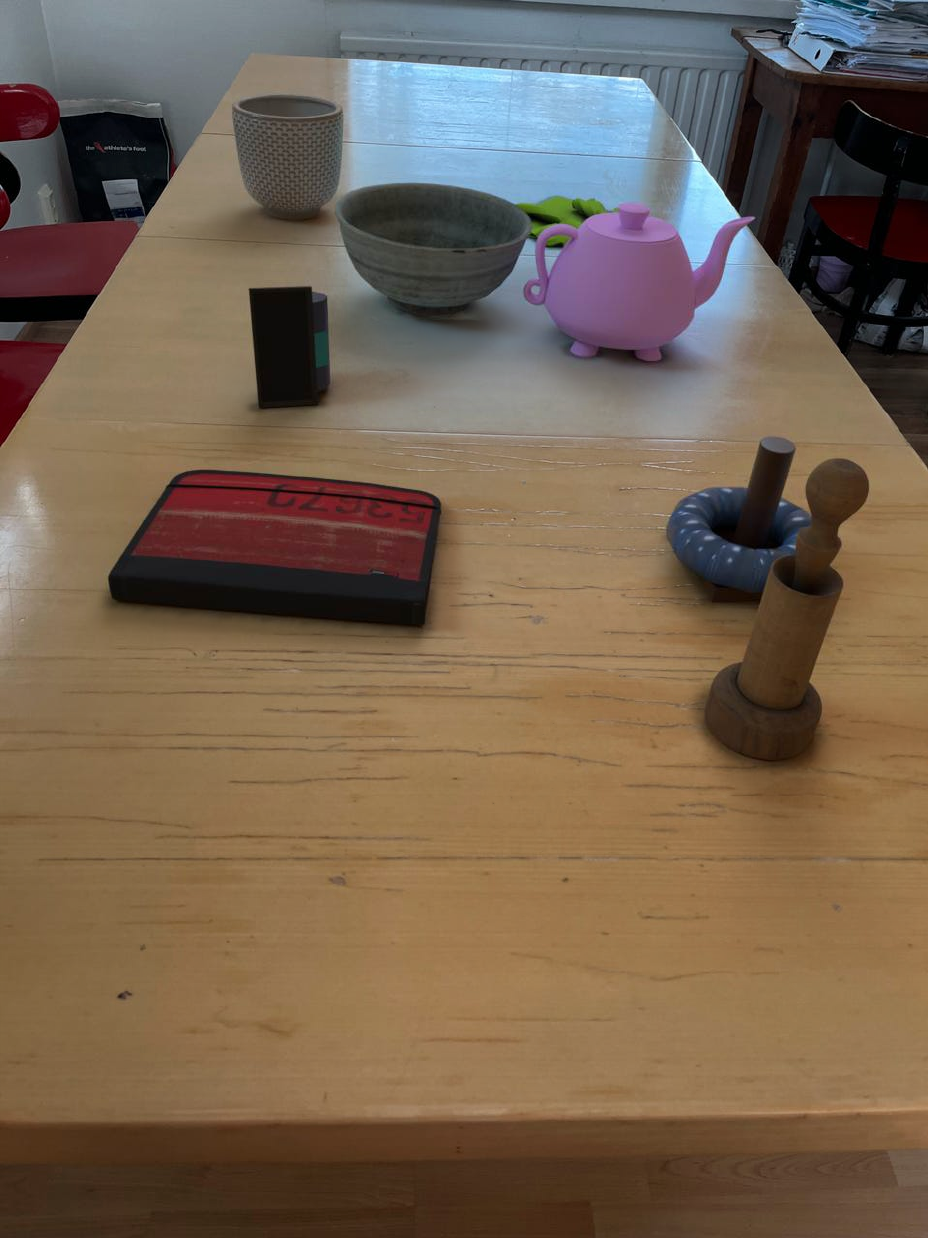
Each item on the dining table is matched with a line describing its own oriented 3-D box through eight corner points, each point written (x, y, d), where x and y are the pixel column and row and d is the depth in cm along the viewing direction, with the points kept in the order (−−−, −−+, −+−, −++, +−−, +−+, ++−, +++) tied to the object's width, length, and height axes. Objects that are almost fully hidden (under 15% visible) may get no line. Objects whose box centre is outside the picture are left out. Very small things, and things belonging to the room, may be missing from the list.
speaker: (320, 412, 89) (313, 293, 83) (257, 408, 89) (245, 290, 84) (338, 383, 95) (333, 271, 90) (279, 380, 96) (270, 268, 90)
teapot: (712, 319, 113) (740, 191, 104) (739, 379, 100) (774, 239, 92) (517, 306, 112) (529, 176, 104) (520, 364, 100) (535, 223, 91)
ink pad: (426, 600, 65) (104, 574, 65) (424, 629, 66) (109, 603, 66) (444, 483, 78) (175, 461, 78) (442, 509, 79) (179, 488, 79)
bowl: (397, 257, 122) (399, 170, 116) (553, 295, 115) (564, 205, 109) (298, 309, 108) (294, 213, 101) (469, 357, 101) (476, 257, 94)
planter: (255, 232, 126) (247, 120, 118) (227, 200, 136) (219, 94, 128) (359, 224, 131) (359, 116, 123) (325, 193, 141) (323, 91, 133)
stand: (816, 596, 72) (859, 472, 66) (711, 602, 71) (745, 476, 64) (771, 534, 78) (807, 415, 72) (674, 538, 77) (702, 418, 70)
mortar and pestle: (745, 672, 65) (824, 421, 54) (833, 727, 61) (938, 470, 50) (682, 717, 61) (753, 457, 50) (772, 779, 57) (870, 514, 46)
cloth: (541, 253, 126) (544, 234, 125) (473, 202, 142) (474, 184, 140) (678, 242, 133) (682, 223, 132) (599, 194, 149) (601, 177, 147)
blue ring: (845, 597, 70) (858, 562, 68) (692, 604, 68) (701, 568, 66) (782, 511, 79) (792, 477, 77) (645, 515, 77) (652, 481, 75)
